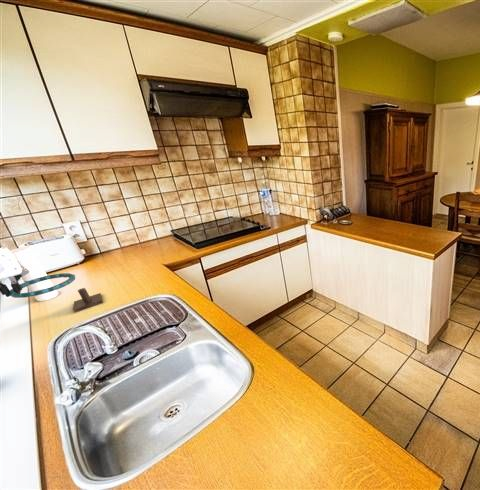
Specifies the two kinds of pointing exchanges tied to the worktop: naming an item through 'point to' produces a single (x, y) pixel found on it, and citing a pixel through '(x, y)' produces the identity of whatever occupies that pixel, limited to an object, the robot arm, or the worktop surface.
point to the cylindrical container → (34, 272)
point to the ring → (39, 292)
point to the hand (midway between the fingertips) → (13, 293)
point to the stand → (87, 300)
